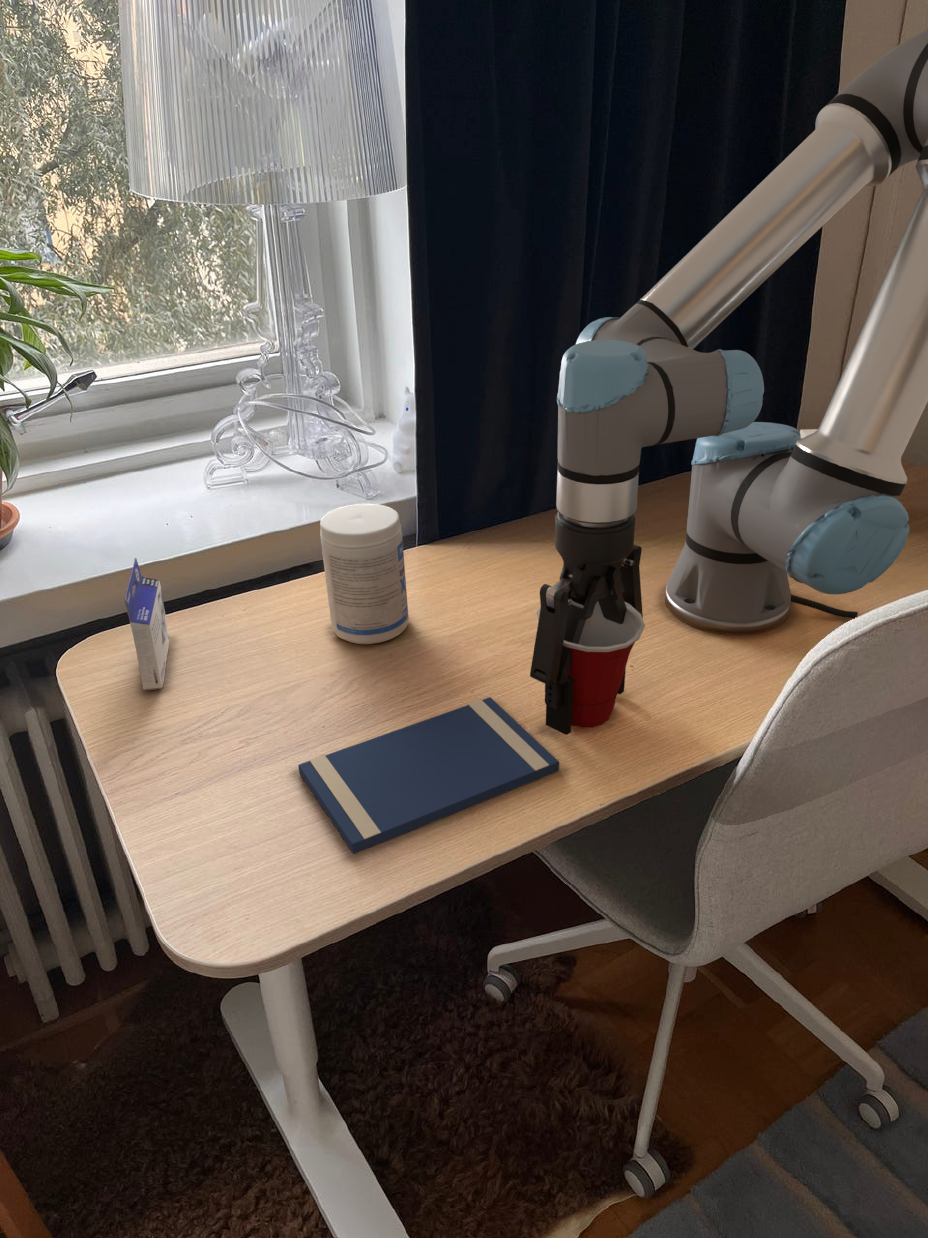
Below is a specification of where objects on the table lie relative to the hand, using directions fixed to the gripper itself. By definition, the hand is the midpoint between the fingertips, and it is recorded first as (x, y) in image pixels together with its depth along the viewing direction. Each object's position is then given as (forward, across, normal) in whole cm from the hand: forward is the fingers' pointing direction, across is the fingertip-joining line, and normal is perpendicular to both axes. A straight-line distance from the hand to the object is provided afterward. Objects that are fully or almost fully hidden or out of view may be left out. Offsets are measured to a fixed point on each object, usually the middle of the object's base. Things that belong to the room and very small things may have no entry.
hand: (585, 707), depth 102 cm
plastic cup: (+1, 0, 0) cm, 1 cm away
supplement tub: (+1, +2, -31) cm, 31 cm away
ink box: (+1, +24, -44) cm, 50 cm away
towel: (+1, +18, -6) cm, 19 cm away
